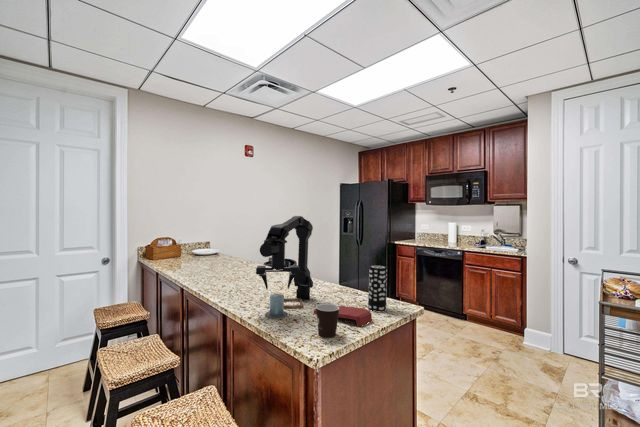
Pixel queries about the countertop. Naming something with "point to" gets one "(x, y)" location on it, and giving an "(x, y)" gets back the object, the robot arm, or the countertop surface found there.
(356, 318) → the carton
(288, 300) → the brown wooden frame
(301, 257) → the robot arm
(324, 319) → the coffee mug
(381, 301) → the spotted tube
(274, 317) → the coaster
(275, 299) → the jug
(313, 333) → the countertop surface
